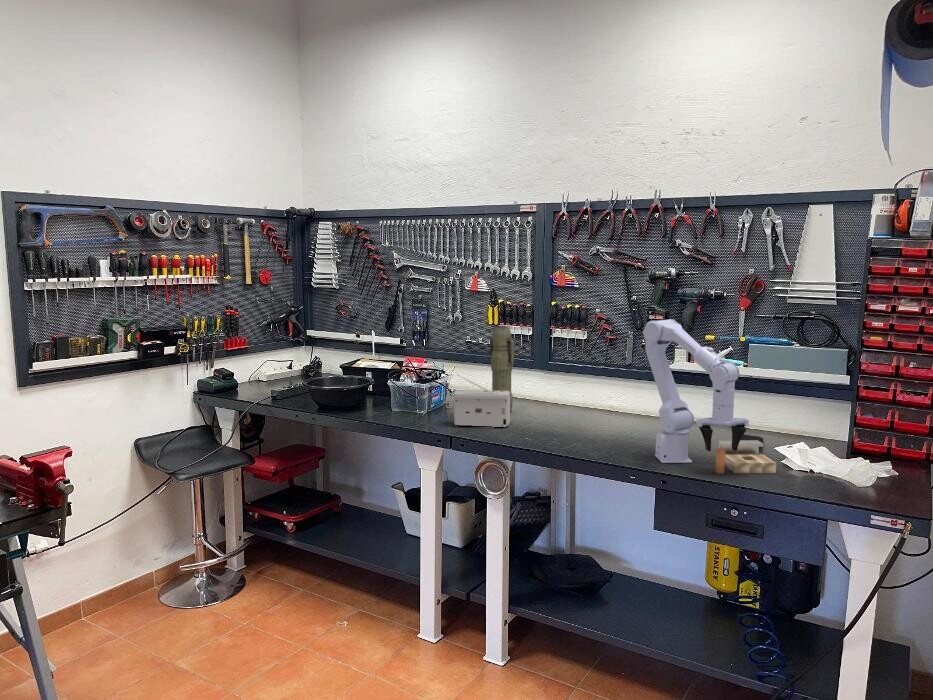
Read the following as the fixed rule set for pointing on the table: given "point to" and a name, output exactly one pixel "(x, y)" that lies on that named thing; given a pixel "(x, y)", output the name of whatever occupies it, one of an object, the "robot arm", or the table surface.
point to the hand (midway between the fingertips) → (721, 450)
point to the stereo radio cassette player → (481, 407)
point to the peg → (720, 460)
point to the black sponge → (749, 437)
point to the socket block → (749, 463)
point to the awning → (741, 446)
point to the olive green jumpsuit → (502, 360)
